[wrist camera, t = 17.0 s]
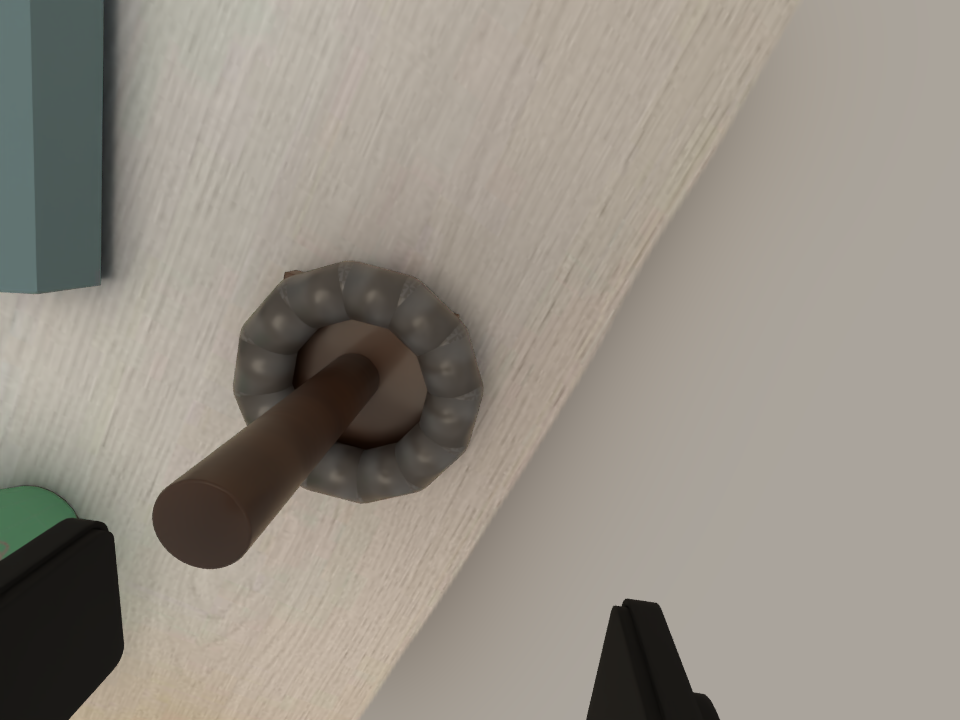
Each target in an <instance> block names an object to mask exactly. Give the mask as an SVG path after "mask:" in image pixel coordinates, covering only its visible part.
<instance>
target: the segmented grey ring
mask: <svg viewBox="0 0 960 720" xmlns="http://www.w3.org/2000/svg"><path fill="white" fill-rule="evenodd" d="M351 319H353V320H357V321H361V322H364V323H368V324H372V325H375V326H379V327H383V328H387V329H389V330H390V331H391V332H392V333H393V334H394V335H395V336H396V337H398V338H399V339H400V340H401V341H402V342H403V343H404V344H405V345H406V346H407V347H408V348H409V349H410V350H411V351H412V352H413V353H414V354H415V355H416V356H417V358H418V361H419V365H420V368H421V371H422V374H423V377H424V381H425V384H426V387H427V394H426V398H425V402H424V406H423V410H422V414H421V418H420V421H419V422H418V423H417V424H416V425H415V426H414V427H413V428H412V429H411V430H410V431H409V432H408V433H407V434H406V435H405V436H404V437H403V438H402V439H401V440H400V441H399V442H397V443H393V444H388V445H384V446H380V447H376V448H371V449H367V450H365V449H361V448H358V447H354V446H350V445H346V444H343V443H339V442H335V443H334V444H333V446H332V447H331V448H330V449H329V451H328V452H327V453H326V454H325V456H324V457H323V458H322V459H321V461H320V462H319V463H318V464H317V465H316V467H315V468H314V469H313V470H312V472H311V473H310V474H309V475H308V477H307V478H306V479H305V480H304V482H303V483H302V484H301V485H300V486H301V487H303V488H305V489H307V490H310V491H314V492H318V493H322V494H326V495H329V496H333V497H337V498H341V499H345V500H348V501H352V502H356V503H370V502H375V501H379V500H384V499H388V498H393V497H397V496H402V495H407V494H411V493H415V492H419V491H421V490H423V489H424V488H426V487H427V486H428V485H429V484H430V483H432V482H433V481H434V480H435V479H436V478H437V477H438V476H439V475H440V474H441V473H442V472H444V471H445V470H446V469H447V468H448V467H449V466H450V465H451V464H452V463H453V462H454V461H456V460H457V459H458V458H459V457H460V456H461V455H462V454H463V453H464V452H465V451H466V449H467V447H468V445H469V442H470V439H471V435H472V431H473V428H474V424H475V421H476V417H477V414H478V410H479V406H480V403H481V399H482V395H483V383H482V379H481V375H480V372H479V368H478V365H477V361H476V358H475V354H474V351H473V347H472V344H471V340H470V336H469V333H468V330H467V328H466V326H465V325H464V323H463V322H462V321H461V320H460V319H459V318H458V317H457V316H456V315H455V314H454V313H453V312H452V311H451V310H450V309H449V308H448V307H447V306H446V305H445V304H444V303H443V302H442V301H441V300H440V299H439V298H438V297H437V296H436V295H434V294H433V293H432V292H431V291H430V290H429V289H428V288H427V287H426V286H425V285H424V284H423V283H422V282H421V281H420V280H418V279H417V278H415V277H412V276H409V275H406V274H402V273H398V272H395V271H391V270H387V269H384V268H380V267H376V266H372V265H369V264H365V263H361V262H357V261H343V262H339V263H335V264H332V265H328V266H325V267H321V268H318V269H314V270H311V271H307V272H304V273H300V274H297V275H293V276H290V277H288V278H286V279H284V280H283V281H281V282H280V283H279V284H278V285H277V287H276V288H275V289H274V290H273V291H272V292H271V294H270V295H269V296H268V297H267V298H266V299H265V300H264V302H263V303H262V304H261V305H260V306H259V307H258V309H257V310H256V311H255V312H254V313H253V314H252V315H251V317H250V318H249V319H248V320H247V321H246V323H245V324H244V325H243V327H242V329H241V332H240V338H239V345H238V353H237V360H236V368H235V375H234V382H233V392H234V395H235V398H236V400H237V403H238V405H239V408H240V410H241V413H242V415H243V418H244V420H245V422H246V425H247V426H248V425H249V424H251V423H252V422H253V421H255V420H256V419H257V418H259V417H260V416H261V415H263V414H264V413H265V412H267V411H268V410H269V409H270V408H272V407H273V406H274V405H276V404H277V403H278V402H280V401H281V400H282V399H284V398H285V397H286V396H288V395H289V394H290V393H292V392H293V391H294V387H293V384H292V382H293V376H294V370H295V364H296V358H297V352H298V351H299V349H300V348H301V347H302V346H303V345H304V344H305V343H306V342H307V341H308V340H309V339H310V337H311V336H312V335H313V334H314V333H315V332H316V331H317V330H318V329H319V328H321V327H325V326H329V325H332V324H336V323H340V322H343V321H347V320H351Z"/></svg>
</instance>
